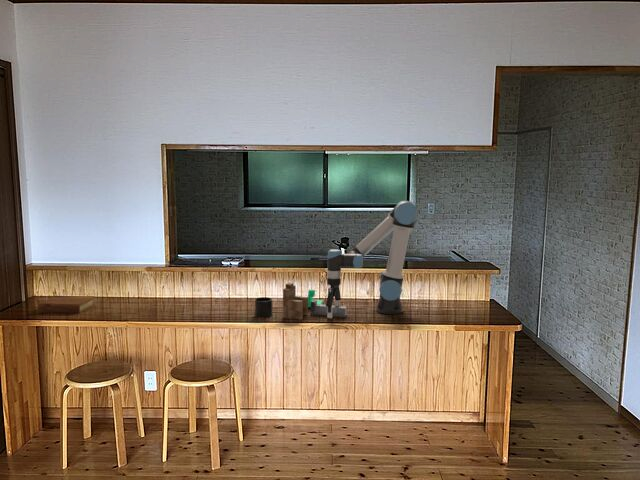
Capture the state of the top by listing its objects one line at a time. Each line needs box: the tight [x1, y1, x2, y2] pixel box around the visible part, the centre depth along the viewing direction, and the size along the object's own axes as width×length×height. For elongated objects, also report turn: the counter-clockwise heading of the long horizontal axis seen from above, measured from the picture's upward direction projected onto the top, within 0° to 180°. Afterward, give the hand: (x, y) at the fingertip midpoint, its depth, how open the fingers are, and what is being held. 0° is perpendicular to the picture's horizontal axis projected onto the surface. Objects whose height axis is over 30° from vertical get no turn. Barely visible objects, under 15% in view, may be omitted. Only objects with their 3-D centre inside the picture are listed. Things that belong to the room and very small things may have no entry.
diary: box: [37, 295, 95, 314], centre depth 292 cm, size 23×19×6 cm
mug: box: [254, 297, 273, 318], centre depth 282 cm, size 9×12×9 cm
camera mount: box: [307, 289, 324, 308], centre depth 300 cm, size 12×8×10 cm, turn 172°
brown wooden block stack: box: [282, 282, 309, 321], centre depth 279 cm, size 10×11×18 cm
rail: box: [310, 299, 348, 318], centre depth 283 cm, size 20×4×7 cm, turn 72°
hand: (333, 314), depth 283 cm, fingers open, 13 cm apart
